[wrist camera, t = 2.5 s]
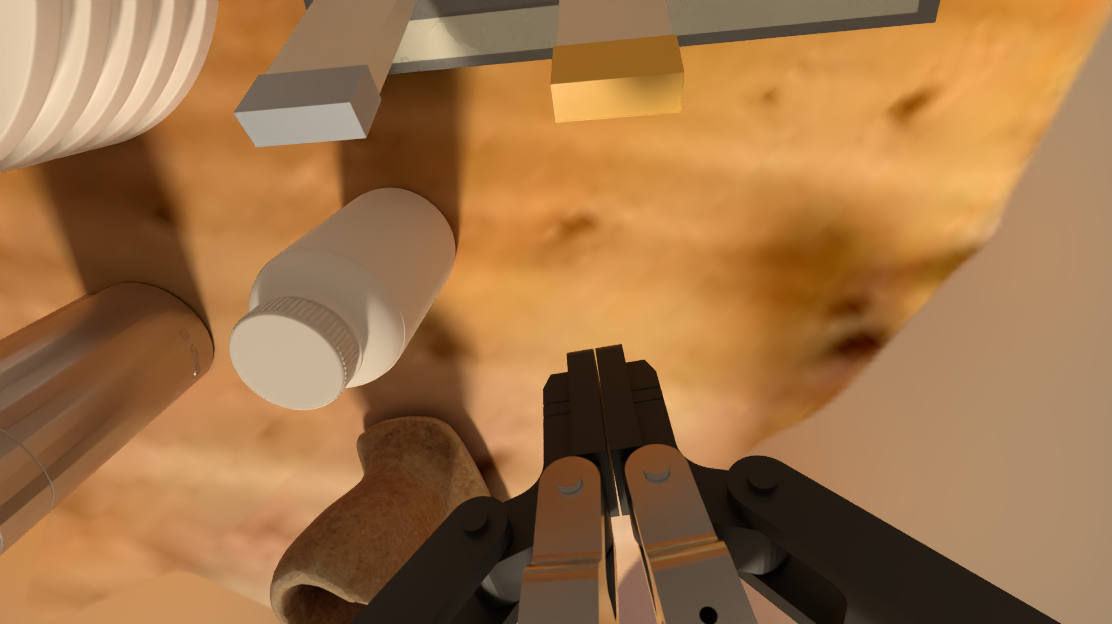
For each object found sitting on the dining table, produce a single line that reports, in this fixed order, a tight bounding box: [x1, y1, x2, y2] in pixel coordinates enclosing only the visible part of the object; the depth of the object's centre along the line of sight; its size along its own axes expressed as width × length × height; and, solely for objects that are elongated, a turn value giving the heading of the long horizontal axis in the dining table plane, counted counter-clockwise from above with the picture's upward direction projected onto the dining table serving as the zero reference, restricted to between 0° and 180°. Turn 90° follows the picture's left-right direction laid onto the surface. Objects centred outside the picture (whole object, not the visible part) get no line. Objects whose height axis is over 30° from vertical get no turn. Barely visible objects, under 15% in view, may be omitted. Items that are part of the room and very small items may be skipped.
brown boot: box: [270, 416, 491, 624], centre depth 41 cm, size 15×12×15 cm
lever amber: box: [551, 0, 684, 123], centre depth 21 cm, size 1×4×12 cm, turn 95°
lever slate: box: [234, 0, 417, 147], centre depth 22 cm, size 1×4×12 cm, turn 96°
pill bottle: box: [229, 188, 456, 410], centre depth 30 cm, size 8×8×15 cm
